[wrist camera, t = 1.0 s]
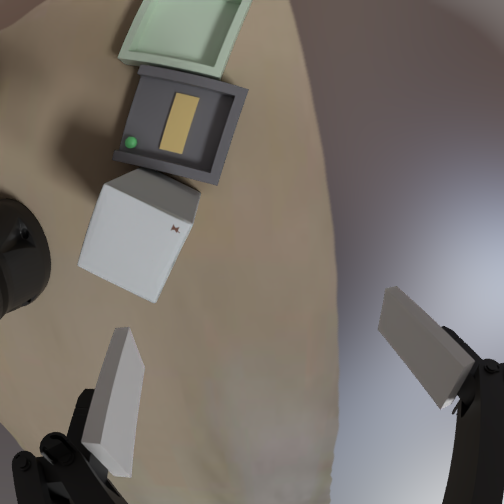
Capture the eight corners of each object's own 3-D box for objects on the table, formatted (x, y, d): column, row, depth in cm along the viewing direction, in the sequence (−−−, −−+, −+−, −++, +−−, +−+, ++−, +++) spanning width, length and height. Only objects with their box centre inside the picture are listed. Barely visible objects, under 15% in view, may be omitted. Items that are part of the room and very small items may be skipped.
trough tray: (125, 64, 25) (117, 57, 22) (160, -13, 21) (156, -24, 18) (219, 83, 27) (220, 77, 24) (250, 4, 24) (254, -7, 21)
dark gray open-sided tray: (122, 157, 29) (112, 160, 25) (148, 72, 25) (140, 64, 22) (216, 180, 31) (217, 185, 28) (244, 95, 28) (248, 89, 25)
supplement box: (144, 163, 29) (103, 178, 18) (203, 192, 31) (197, 224, 20) (118, 221, 31) (73, 266, 20) (174, 248, 33) (156, 306, 22)
